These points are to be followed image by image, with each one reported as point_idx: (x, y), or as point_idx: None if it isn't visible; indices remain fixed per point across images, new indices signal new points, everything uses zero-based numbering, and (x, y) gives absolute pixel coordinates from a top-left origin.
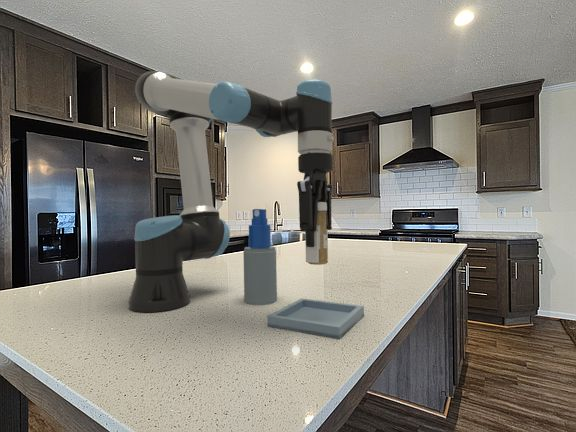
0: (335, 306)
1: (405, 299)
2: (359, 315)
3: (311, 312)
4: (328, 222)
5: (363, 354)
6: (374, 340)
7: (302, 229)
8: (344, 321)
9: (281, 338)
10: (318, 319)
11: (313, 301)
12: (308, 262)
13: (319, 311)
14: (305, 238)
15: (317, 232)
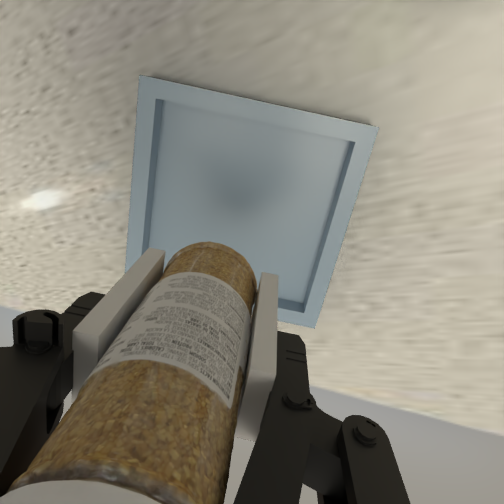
0: (320, 252)
1: (489, 408)
2: None
3: (287, 181)
4: (320, 499)
5: None
6: None
7: (20, 330)
8: None
9: (86, 148)
10: (227, 214)
11: (344, 181)
12: (178, 251)
13: (302, 203)
14: (97, 305)
15: None
